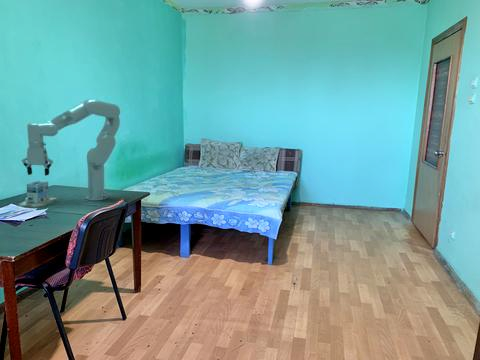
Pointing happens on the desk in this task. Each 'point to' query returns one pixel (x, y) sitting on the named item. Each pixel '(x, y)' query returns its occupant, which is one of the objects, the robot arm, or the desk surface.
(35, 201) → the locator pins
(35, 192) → the light bulb box
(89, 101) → the robot arm
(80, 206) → the desk surface
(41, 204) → the locator board
